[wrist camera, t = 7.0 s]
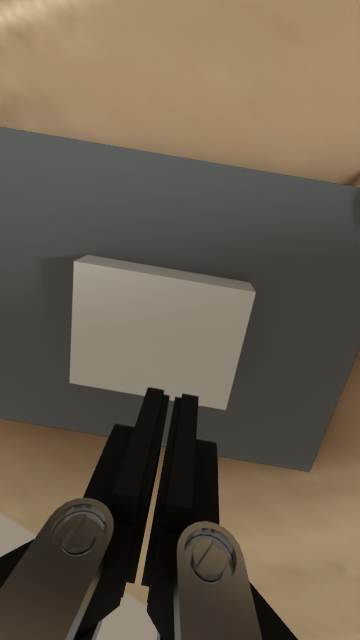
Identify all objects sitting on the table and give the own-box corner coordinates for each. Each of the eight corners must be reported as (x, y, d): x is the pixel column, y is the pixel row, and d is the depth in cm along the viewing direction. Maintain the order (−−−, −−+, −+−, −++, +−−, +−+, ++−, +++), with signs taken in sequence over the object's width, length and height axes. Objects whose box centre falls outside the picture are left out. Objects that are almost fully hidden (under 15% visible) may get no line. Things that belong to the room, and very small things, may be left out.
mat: (414, 197, 16) (420, 197, 15) (307, 466, 22) (309, 472, 22) (-14, 125, 16) (-20, 123, 16) (2, 413, 22) (-2, 417, 22)
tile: (255, 292, 15) (74, 261, 15) (225, 410, 18) (69, 382, 18) (249, 281, 17) (89, 253, 18) (223, 387, 20) (83, 363, 20)
